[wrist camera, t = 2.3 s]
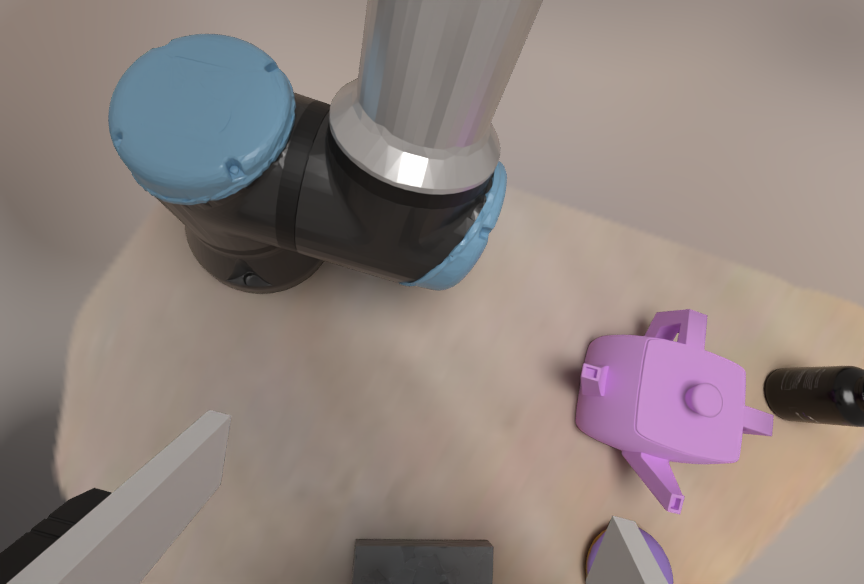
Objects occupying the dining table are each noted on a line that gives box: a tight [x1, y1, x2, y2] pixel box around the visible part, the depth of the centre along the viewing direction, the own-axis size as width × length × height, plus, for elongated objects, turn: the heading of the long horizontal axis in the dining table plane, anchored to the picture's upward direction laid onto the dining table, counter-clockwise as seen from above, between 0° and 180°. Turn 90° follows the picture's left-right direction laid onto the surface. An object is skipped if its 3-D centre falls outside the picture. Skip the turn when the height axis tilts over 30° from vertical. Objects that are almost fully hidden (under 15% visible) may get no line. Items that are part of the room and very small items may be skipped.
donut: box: [586, 528, 673, 584], centre depth 46 cm, size 10×9×5 cm
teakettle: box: [576, 309, 773, 514], centre depth 47 cm, size 17×17×12 cm
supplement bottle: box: [765, 366, 864, 427], centre depth 51 cm, size 7×7×12 cm
